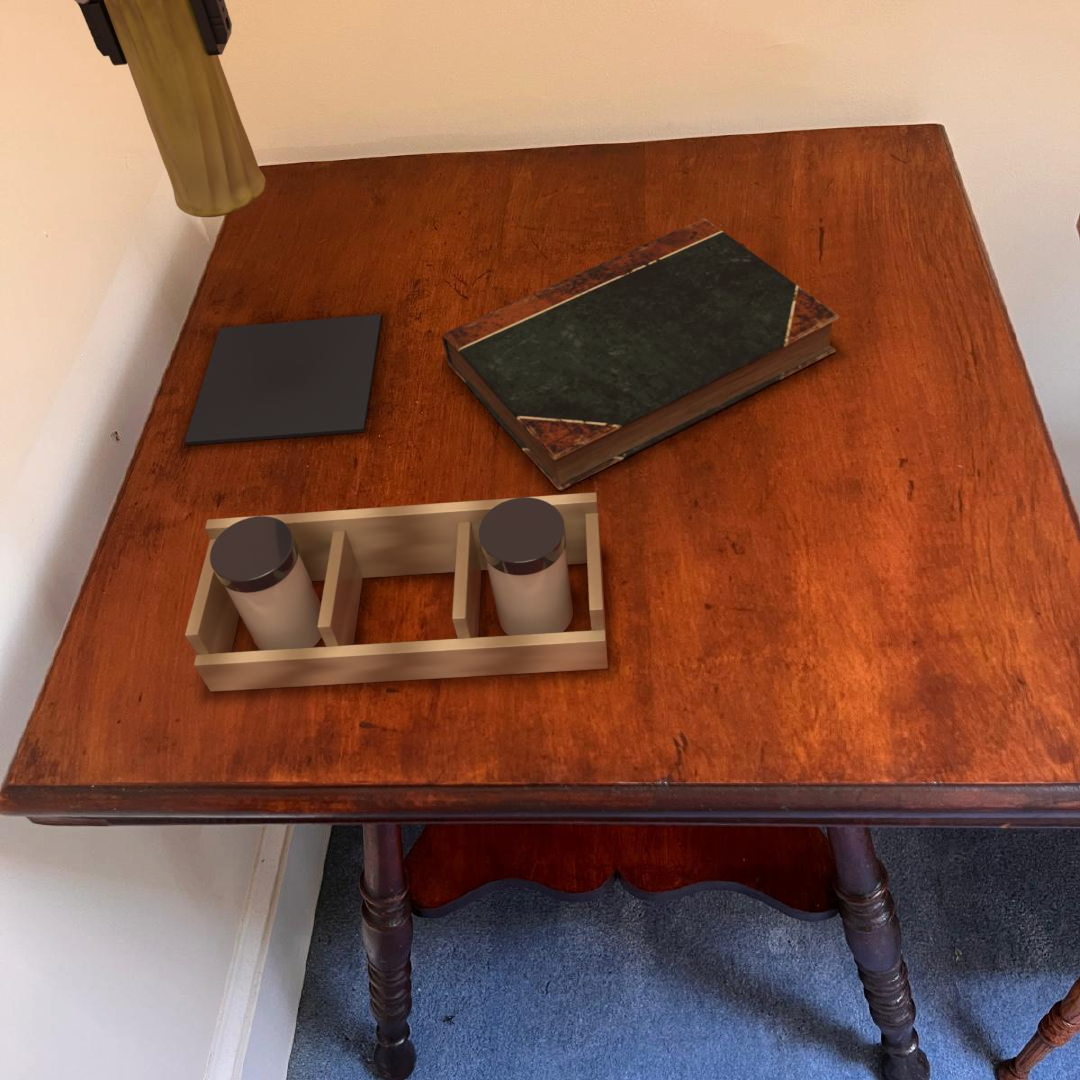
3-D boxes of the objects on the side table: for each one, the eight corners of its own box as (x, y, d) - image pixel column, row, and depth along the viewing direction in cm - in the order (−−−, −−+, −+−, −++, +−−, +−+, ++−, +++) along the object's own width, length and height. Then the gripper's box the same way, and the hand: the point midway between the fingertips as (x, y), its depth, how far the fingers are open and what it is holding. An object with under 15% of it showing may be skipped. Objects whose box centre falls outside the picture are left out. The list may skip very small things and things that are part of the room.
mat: (186, 445, 79) (184, 442, 79) (221, 331, 89) (219, 327, 88) (364, 432, 78) (363, 428, 78) (382, 317, 88) (381, 313, 87)
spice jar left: (245, 662, 66) (201, 583, 59) (259, 599, 69) (218, 518, 63) (323, 658, 65) (286, 577, 59) (332, 595, 68) (299, 512, 62)
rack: (210, 692, 64) (175, 636, 60) (237, 577, 70) (207, 519, 66) (608, 668, 63) (602, 610, 58) (601, 553, 69) (596, 491, 64)
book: (557, 494, 72) (836, 353, 79) (553, 458, 70) (842, 315, 76) (446, 364, 83) (700, 249, 89) (438, 328, 80) (701, 213, 87)
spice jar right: (495, 647, 64) (477, 565, 58) (497, 584, 68) (480, 500, 62) (575, 642, 64) (565, 559, 58) (573, 579, 67) (563, 494, 61)
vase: (160, 216, 69) (66, -10, 58) (201, 167, 72) (120, -54, 61) (243, 221, 67) (162, -9, 56) (280, 171, 71) (211, -54, 60)
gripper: (203, -333, 52) (296, 16, 65) (-70, -298, 53) (75, 38, 66) (168, -297, 47) (276, 72, 60) (-132, -260, 48) (37, 95, 61)
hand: (170, 53), depth 63 cm, fingers closed on vase, 5 cm apart
